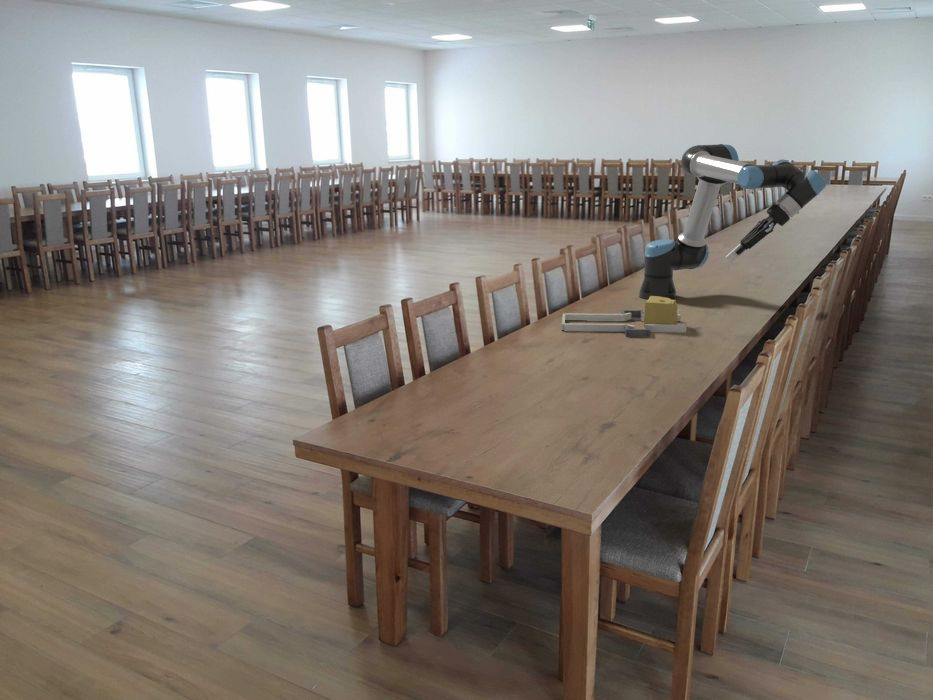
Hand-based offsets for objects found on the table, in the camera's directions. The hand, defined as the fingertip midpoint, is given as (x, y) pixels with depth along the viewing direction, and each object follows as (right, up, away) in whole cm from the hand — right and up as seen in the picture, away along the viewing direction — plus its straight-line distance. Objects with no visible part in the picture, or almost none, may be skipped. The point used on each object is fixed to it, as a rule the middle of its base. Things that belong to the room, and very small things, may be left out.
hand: (728, 259), depth 261 cm
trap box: (-35, -23, +12) cm, 43 cm away
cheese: (-21, -23, +10) cm, 33 cm away
